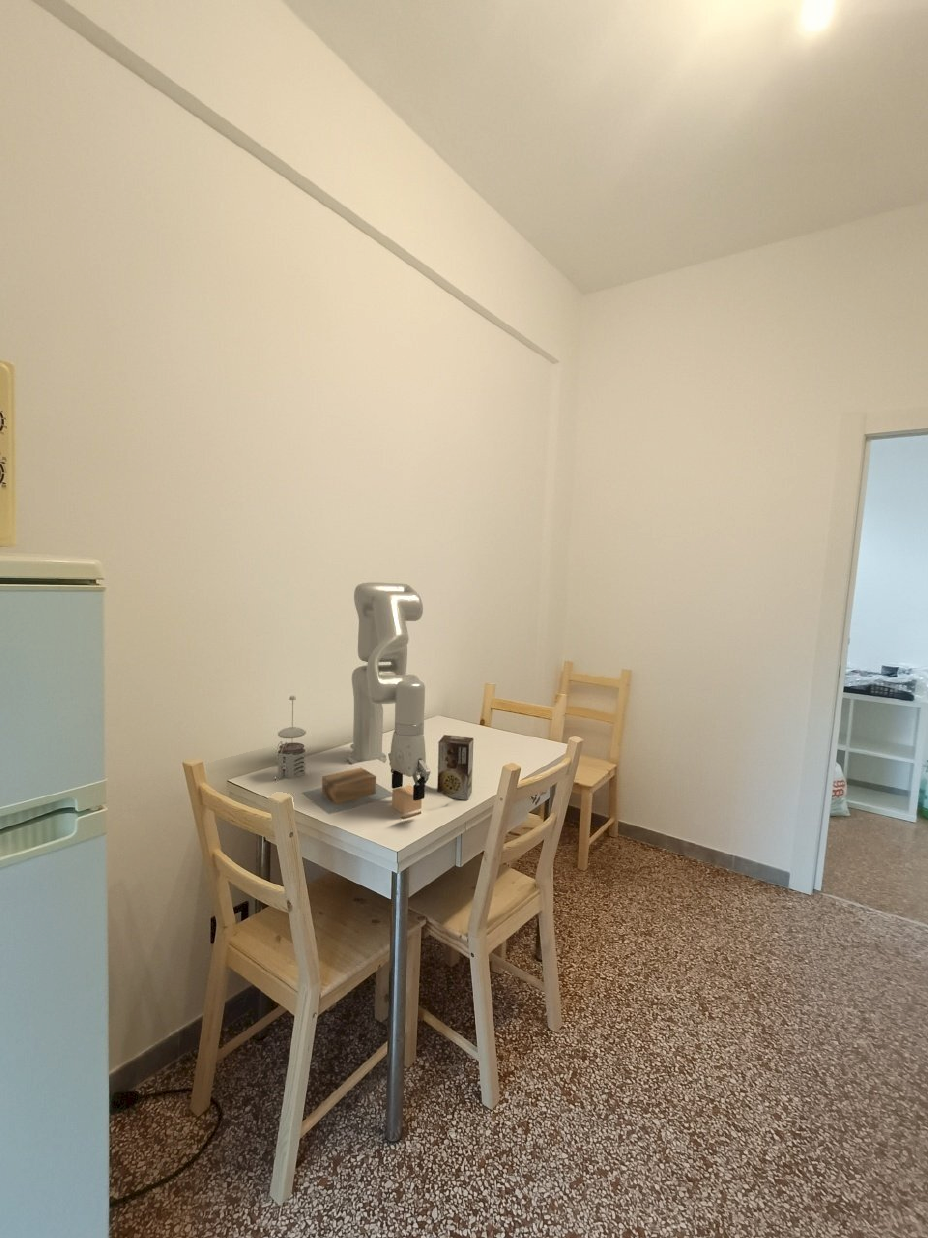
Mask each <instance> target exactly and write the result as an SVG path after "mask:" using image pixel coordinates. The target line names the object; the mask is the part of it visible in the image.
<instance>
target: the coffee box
mask: <svg viewBox="0 0 928 1238" xmlns="http://www.w3.org/2000/svg"><path fill="white" fill-rule="evenodd" d="M437 744H438V747H437V748H438V749H437V751H438V752H437V753H438V754H437V756H438V757H437V784H436V785H437V787H436V788H437V789H436V790H437V792H438V793H439V794H442V795H443V796H445V797H447V798H449V799H457V800H458V799H459V800H469V798H470V796H471V794H472V793H473V791H472V790H473V769H474V768H473V766H474V763H473V761H474V737H469V736H459V735H446V734H444V735H443V736H442V737H441V738H440V740H439V741H437Z"/></svg>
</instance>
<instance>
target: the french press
mask: <svg viewBox="0 0 928 1238" xmlns="http://www.w3.org/2000/svg"><path fill="white" fill-rule="evenodd" d="M296 699H297V697H296V696H295V695H290V696H289V699H288V700H289V701H292V703H291V726H289V727H285V728H283V729H281V730H280V731H279V732H278V733H277V736H278V737H279V738H283V739H295V738H296V739H297V738H300V737H303V736H306V734H307V731H306V730H305V729H303V728H301V727H296V726H294V725H293V722H294V720H293V715H294V707H293V706H294V701H296ZM280 744H281V745H280ZM284 759H285V760H284ZM275 761H276V764H277V775H276V776H275V777H276V778H275V777H274V778H275V779H276V780H277V781H276V782H279V781H283V780H286V779H288V780H289V779H293V778H299V777H301V776H304V775H307V773H306V767H305V766H306V763H305V762H306V749H305V744H303V743H302V742H290V741H289V742H287V741H285V742H284V743H283V741H282V740H281V741H279V743H278V745H277V747H276V751H275Z"/></svg>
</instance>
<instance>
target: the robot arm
mask: <svg viewBox="0 0 928 1238" xmlns="http://www.w3.org/2000/svg"><path fill="white" fill-rule="evenodd" d="M353 602H354V606H355V610H356V613H357V617H358V629H357V630H358V631H357V632H358V634H357V656H358V658H359V659H360V660H361V661H362V662H365V663H367V664H366V665H361V666H358V667H356V668H355V669H353V671H352V673H351V686H352V693H353V694H352V695H353V726H352V727H353V728H352V730H353V731H352V734H353V735H352V743H351V744H350V746H349V747H350V748H351V749H352V753H349V755H348V756H347V761H348V763H350V765H351V764H352V765H355V764H358V763H362V762H363V763H364V762H370V761H376V760H378V761H379V762H382V763H385V762H387V758H388V760H389V763H388V764H389V765H390V768H391V769H390V773H391V789H392V790H394V789H398V788H401V787H404V785H403V783H404V776H406V777H409V778H411V777H412V779H413V781H414V784H413V786H412V787H413V800H414V801H416V800H420V799H423V800H424V798H426V797H425V796H426V795H425V793H426V792H425V791H426V784H427V781H428V780H429V778H430V775H431V770H430V768H429V767H428V765H427V764H426V762H427V761H426V755H427V753H426V743H425V736H424V734H425V706H426V705H425V703H426V701H425V700H426V685H425V684H424V682H422V680H420V678H419V677H418V676H417V675H415V674H407V673H406V672H407V660H408V657H407V656H408V646H407V645H408V643H409V634H408V629H407V628H408V627H407V623H406V622H417V621H419V620H421V618H422V616H423V614H424V613H423V612H424V606H423V600H422V599H421V596H420V594H419V593H418V591H416V590H415V589H414V588H413V587H412V586H410V585H409V584H406V583H401V582H400V583H397V582H395V583H393V582H391V583H390V582H364V583H363V582H362V583H360V584H357V585H356V587H355V588H354V592H353ZM388 662H389V663H390V664H379V663H388ZM389 704H394V705H395V706H394V731H393V734H392V739H391V743H390V744H391V745H390V752H389V753H388V755H386V753H384V752H383V731H384V730H383V727H384V726H383V724H384V708H383V705H389ZM418 776H419V778H418Z"/></svg>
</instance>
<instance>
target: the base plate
mask: <svg viewBox="0 0 928 1238" xmlns="http://www.w3.org/2000/svg"><path fill="white" fill-rule="evenodd" d="M301 794H302V795H304V796H305V797H306V798H307V799H309V800H310V801H312V803H314V804H315V805H316V806H318V807H319V808H320V809H321V810H323V811H324V812H325V813H327V814H329V815H331V814H335V813H338V812H342V811H345V810H349V809H353V808H356V807H359V806H363V805H368V804H370V803H373V802H378V801H381V800H386V799H387V798H388V799H389V798H392V791H390V790H389V789H387V788H384V787H383V786H382V785H379V784H378V783H376V794H373V795H369V796H366V797H362V798H358V799H355V800H351V801H347V802H344V803H340V804H335V803H333V802H332V801H331V800H329V799H328V798H326V797H325V796H324V795H322V787H321V788H317V789H313V790H312V789H311V790H307V791H304V792H302V793H301Z"/></svg>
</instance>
